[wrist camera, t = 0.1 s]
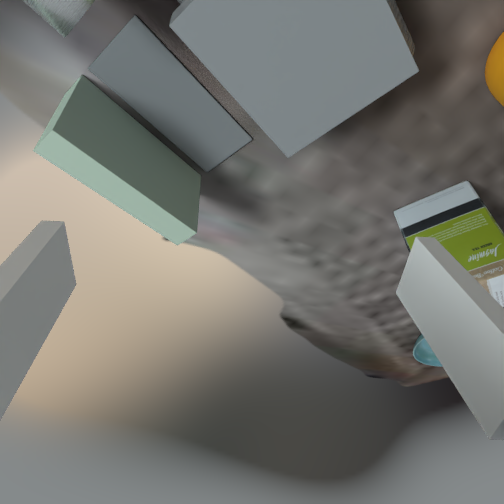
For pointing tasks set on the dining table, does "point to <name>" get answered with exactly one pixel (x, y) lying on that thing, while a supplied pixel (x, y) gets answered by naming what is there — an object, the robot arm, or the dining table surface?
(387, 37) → the stone slab
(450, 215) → the tea box
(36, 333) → the robot arm
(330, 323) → the dining table surface
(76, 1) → the roller
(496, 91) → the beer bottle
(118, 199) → the block
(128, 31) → the mat
